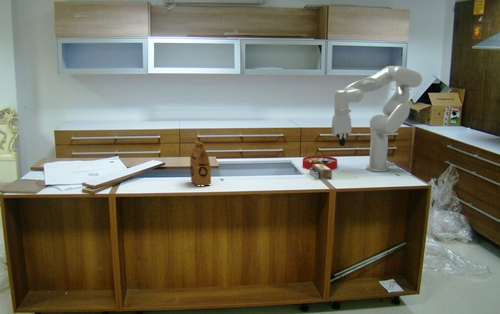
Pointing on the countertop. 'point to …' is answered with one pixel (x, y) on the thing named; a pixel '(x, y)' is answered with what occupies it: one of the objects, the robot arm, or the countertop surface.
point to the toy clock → (320, 161)
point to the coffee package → (200, 165)
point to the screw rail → (314, 173)
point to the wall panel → (336, 175)
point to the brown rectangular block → (322, 171)
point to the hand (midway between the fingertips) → (342, 145)
